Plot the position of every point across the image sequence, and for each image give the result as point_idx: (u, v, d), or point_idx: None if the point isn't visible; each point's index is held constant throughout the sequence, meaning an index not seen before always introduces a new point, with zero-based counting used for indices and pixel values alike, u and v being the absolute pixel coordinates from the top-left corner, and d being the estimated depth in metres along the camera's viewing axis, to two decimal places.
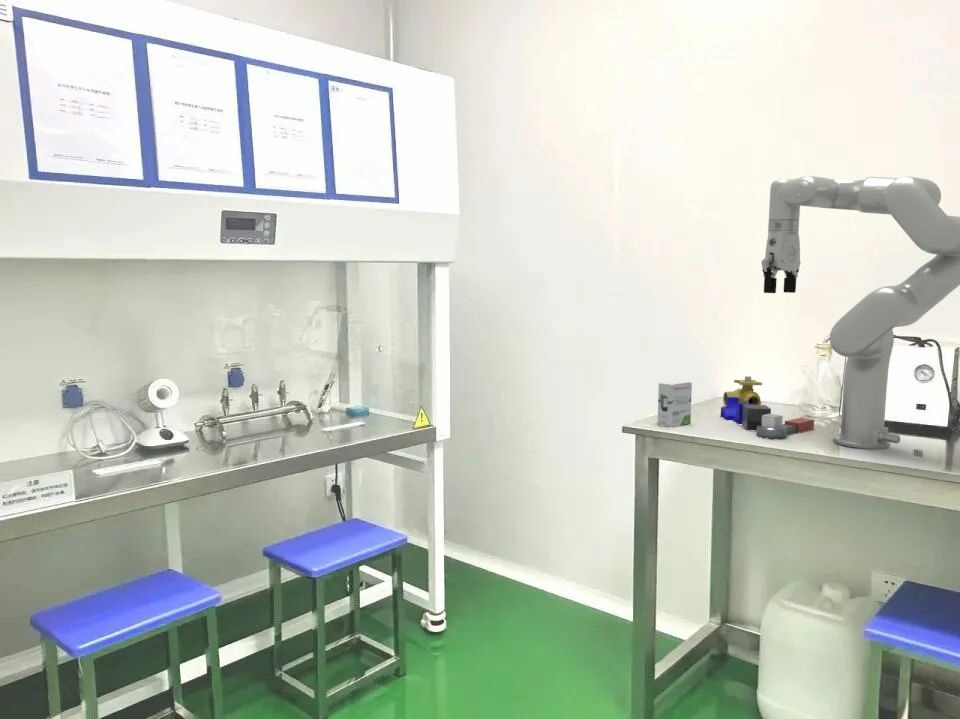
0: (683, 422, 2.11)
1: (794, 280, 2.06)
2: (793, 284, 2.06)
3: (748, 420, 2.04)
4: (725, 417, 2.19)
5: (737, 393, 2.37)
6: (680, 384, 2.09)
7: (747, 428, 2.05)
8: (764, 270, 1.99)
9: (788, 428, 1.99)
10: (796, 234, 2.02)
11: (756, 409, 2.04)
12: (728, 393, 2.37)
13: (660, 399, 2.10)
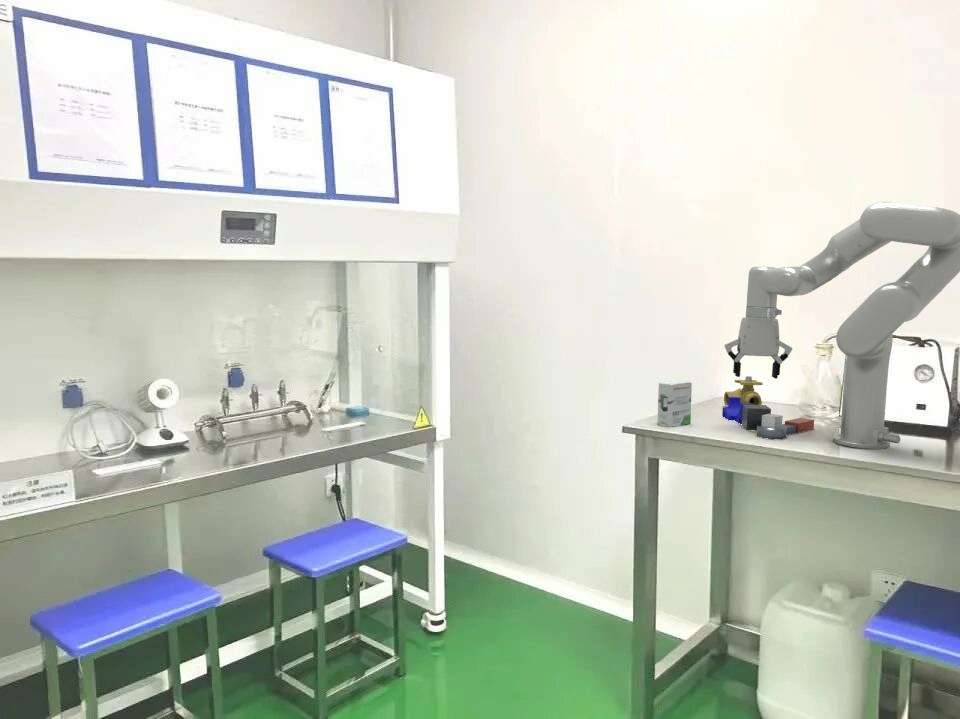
0: (683, 422, 2.11)
1: None
2: None
3: (748, 420, 2.04)
4: (727, 417, 2.19)
5: (738, 393, 2.37)
6: (680, 384, 2.09)
7: (747, 428, 2.05)
8: None
9: (788, 428, 1.99)
10: None
11: (756, 409, 2.04)
12: (729, 393, 2.37)
13: (660, 399, 2.10)
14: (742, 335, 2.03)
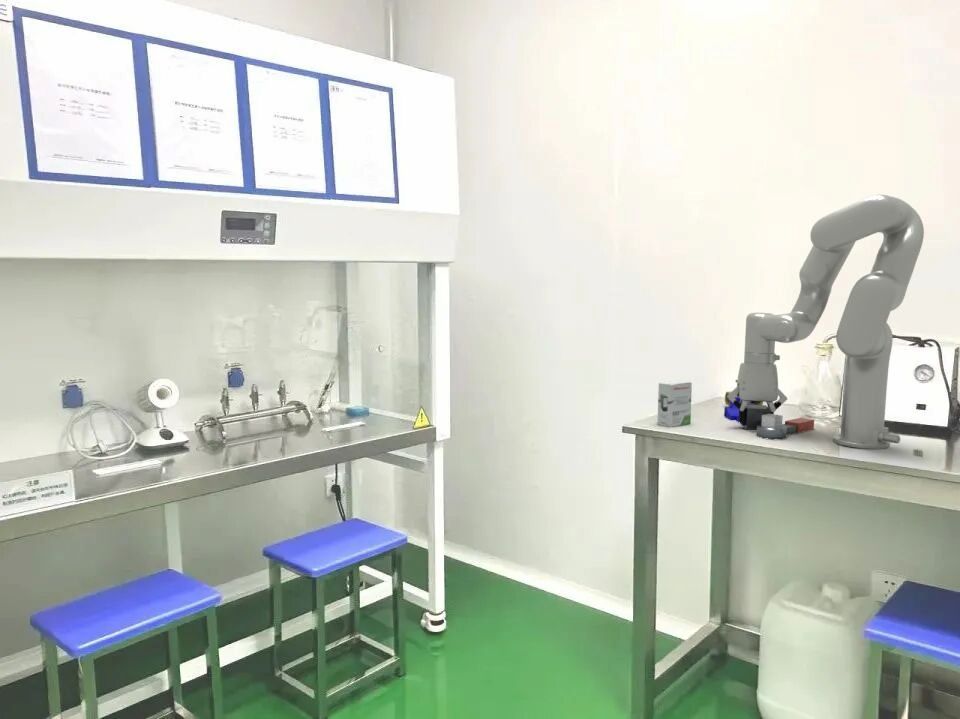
0: (683, 422, 2.11)
1: None
2: None
3: (748, 420, 2.04)
4: (729, 417, 2.19)
5: None
6: (680, 384, 2.09)
7: (747, 428, 2.05)
8: None
9: (788, 428, 1.99)
10: None
11: (756, 409, 2.04)
12: None
13: (660, 399, 2.10)
14: (741, 381, 2.05)
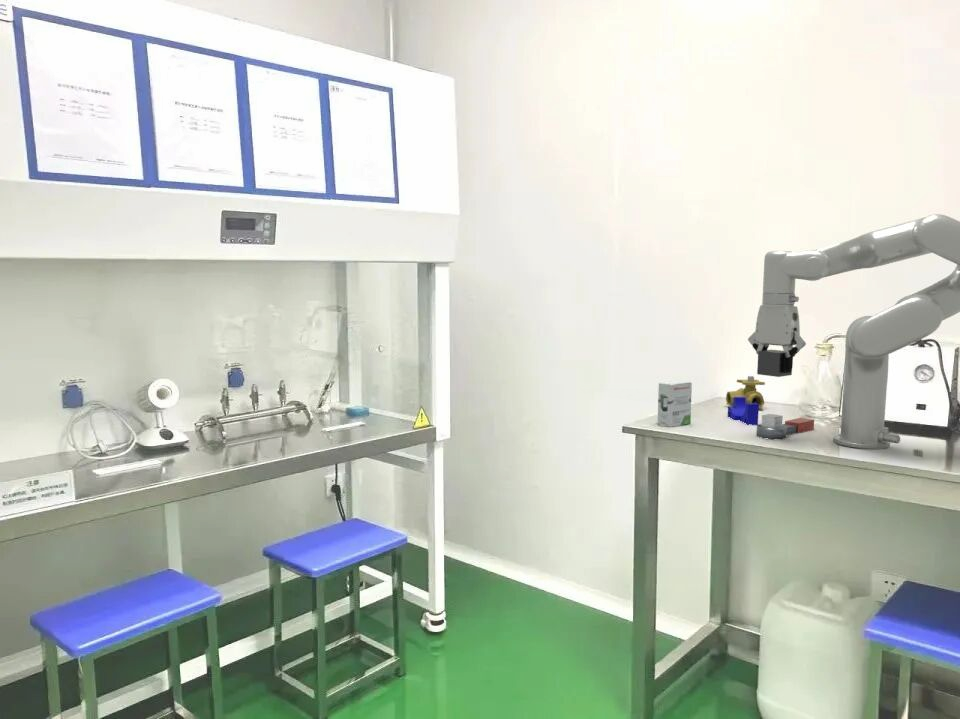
0: (683, 422, 2.11)
1: None
2: None
3: (758, 363, 1.96)
4: (732, 417, 2.19)
5: (740, 393, 2.37)
6: (680, 384, 2.09)
7: (758, 372, 1.96)
8: (797, 350, 1.90)
9: (788, 428, 1.99)
10: None
11: (766, 352, 1.94)
12: (731, 393, 2.37)
13: (660, 399, 2.10)
14: None
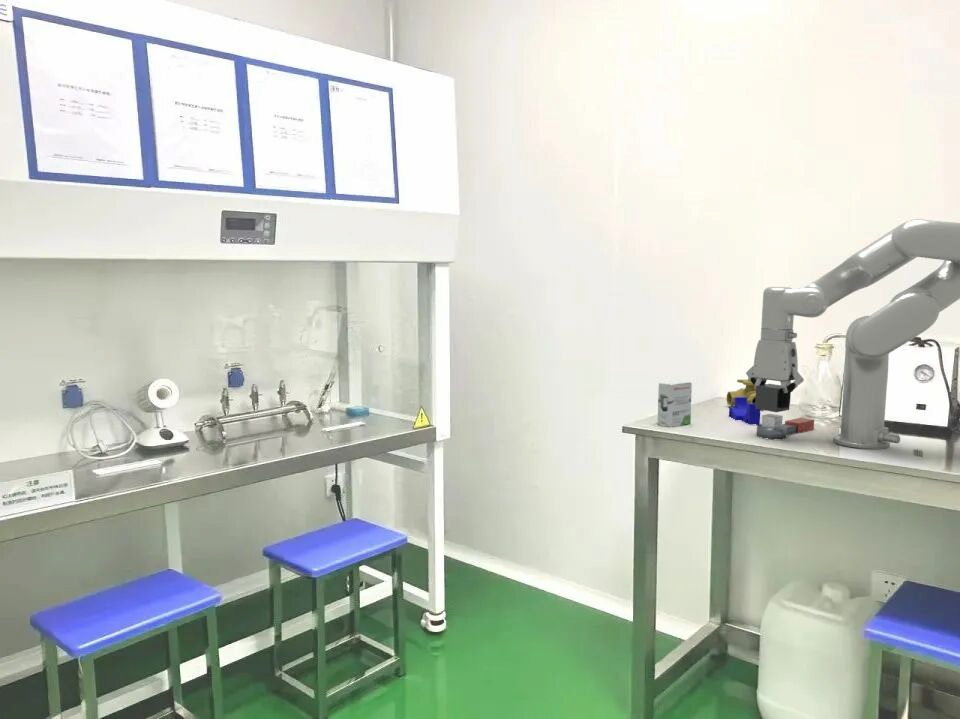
0: (683, 422, 2.11)
1: None
2: None
3: (756, 398, 1.97)
4: (734, 417, 2.19)
5: (741, 393, 2.37)
6: (680, 384, 2.09)
7: (756, 406, 1.97)
8: (795, 386, 1.91)
9: (788, 428, 1.99)
10: None
11: (764, 387, 1.95)
12: (732, 393, 2.37)
13: (660, 399, 2.10)
14: None
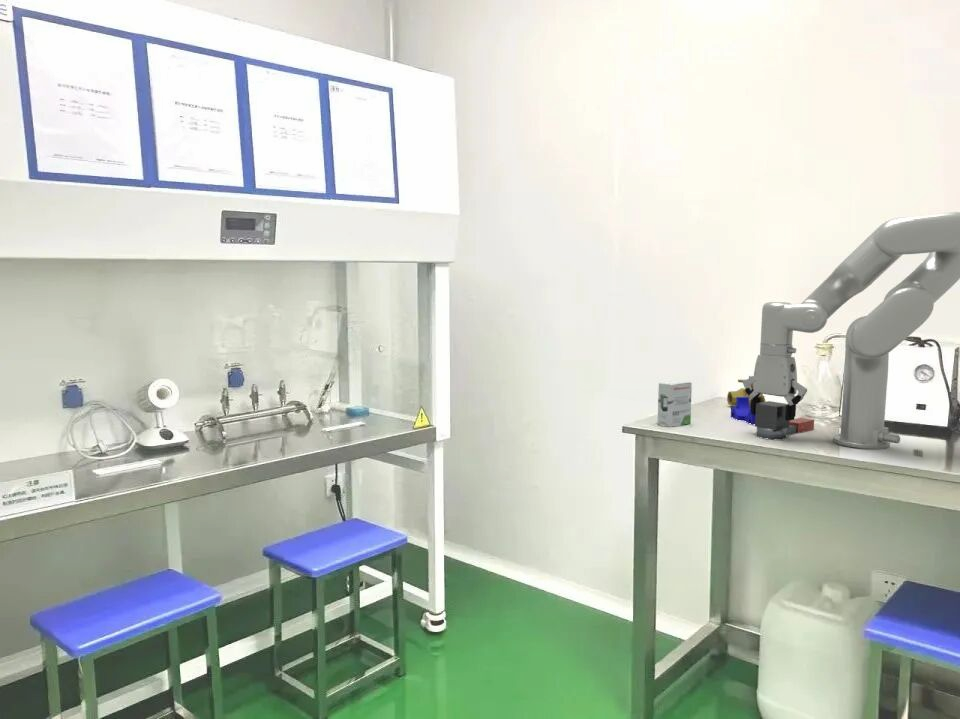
0: (683, 422, 2.11)
1: (760, 401, 2.01)
2: None
3: (756, 416, 1.97)
4: (736, 417, 2.19)
5: (741, 393, 2.38)
6: (680, 384, 2.09)
7: (755, 424, 1.98)
8: (800, 398, 1.90)
9: (788, 428, 1.99)
10: None
11: (764, 405, 1.95)
12: (732, 393, 2.38)
13: (660, 399, 2.10)
14: (754, 372, 1.98)
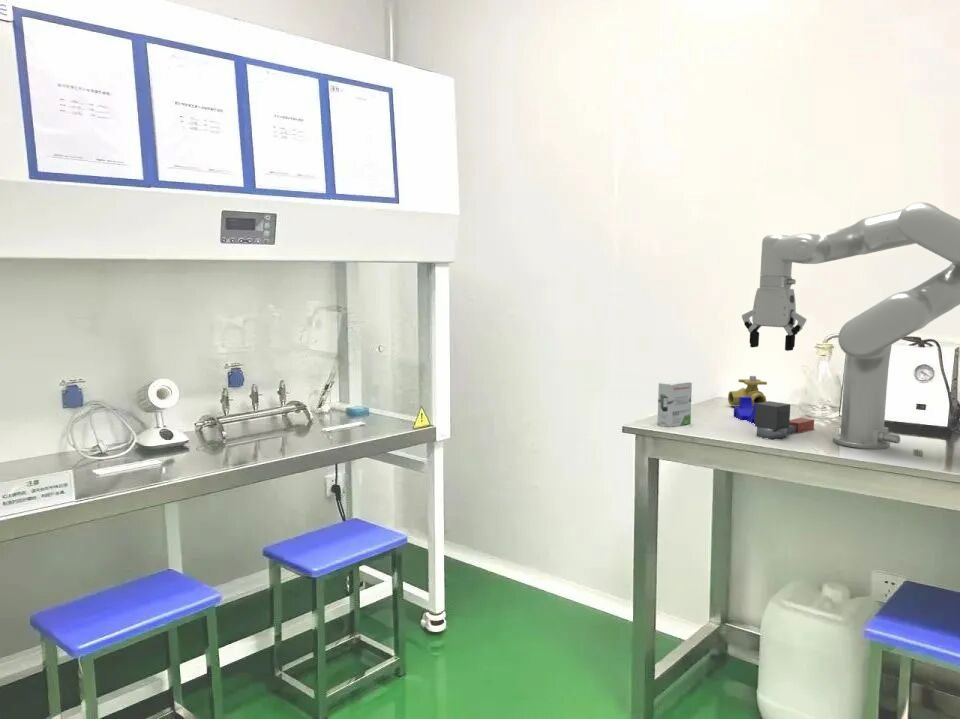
0: (683, 422, 2.11)
1: None
2: (758, 338, 2.05)
3: (756, 416, 1.97)
4: (739, 417, 2.19)
5: (742, 392, 2.38)
6: (680, 384, 2.09)
7: (755, 424, 1.98)
8: (800, 328, 1.95)
9: (788, 428, 1.99)
10: None
11: (764, 405, 1.95)
12: (733, 393, 2.38)
13: (660, 399, 2.10)
14: None
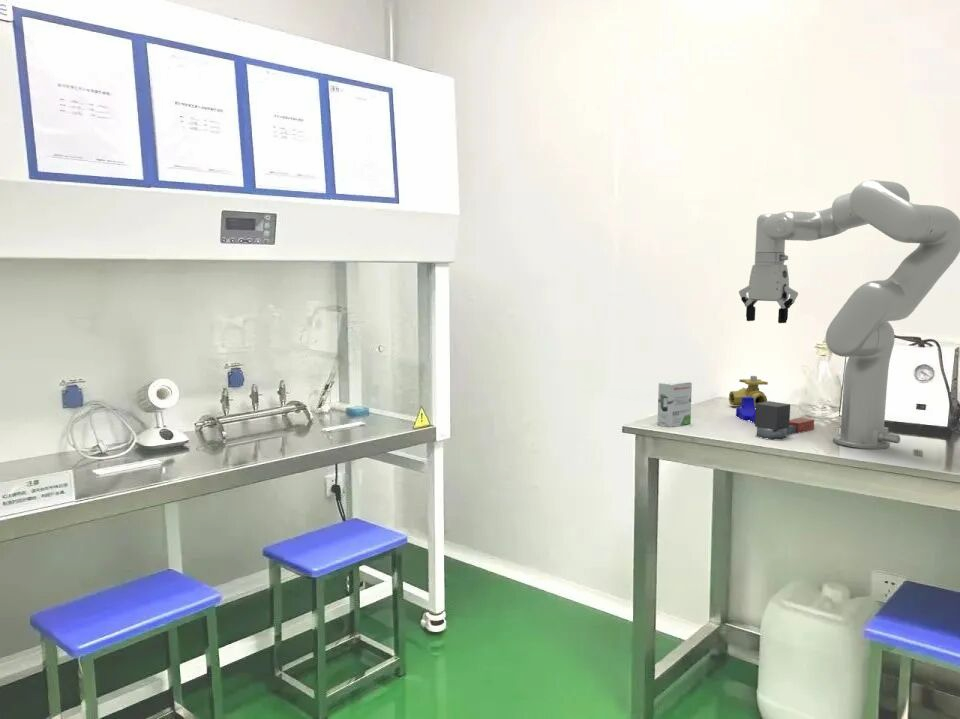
0: (683, 422, 2.11)
1: (754, 309, 2.17)
2: (754, 313, 2.17)
3: (756, 416, 1.97)
4: (742, 417, 2.19)
5: (743, 392, 2.38)
6: (680, 384, 2.09)
7: (755, 424, 1.98)
8: (792, 301, 2.06)
9: (788, 428, 1.99)
10: None
11: (764, 405, 1.95)
12: (734, 393, 2.38)
13: (660, 399, 2.10)
14: (749, 280, 2.14)
